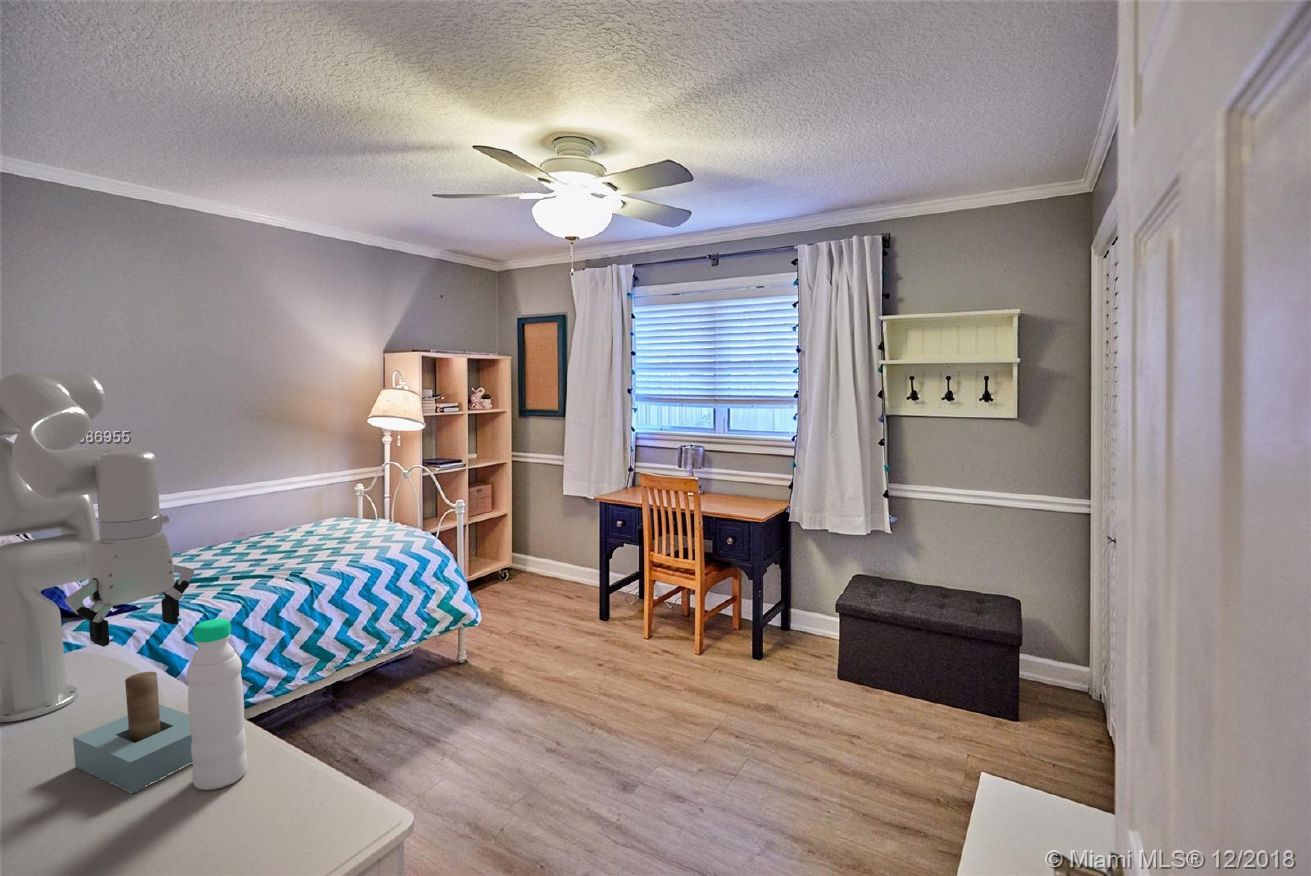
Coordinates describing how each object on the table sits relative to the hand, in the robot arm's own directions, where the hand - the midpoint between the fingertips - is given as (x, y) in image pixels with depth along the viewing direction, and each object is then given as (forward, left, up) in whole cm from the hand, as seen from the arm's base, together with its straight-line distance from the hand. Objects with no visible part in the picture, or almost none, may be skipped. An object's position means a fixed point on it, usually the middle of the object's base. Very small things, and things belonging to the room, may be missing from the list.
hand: (137, 633), depth 103 cm
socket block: (0, 0, -21) cm, 21 cm away
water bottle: (+16, +2, -22) cm, 27 cm away
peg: (0, 0, -21) cm, 21 cm away
